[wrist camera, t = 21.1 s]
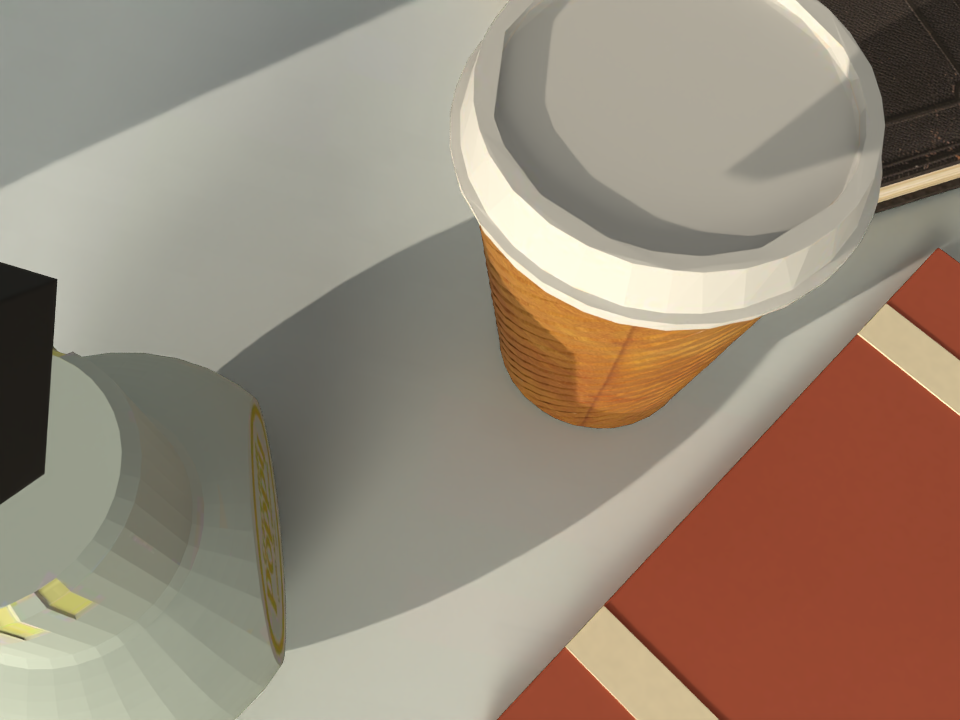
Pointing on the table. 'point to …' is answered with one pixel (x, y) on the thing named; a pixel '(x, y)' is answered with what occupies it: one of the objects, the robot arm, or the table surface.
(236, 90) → the table surface
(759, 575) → the tea towel
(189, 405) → the air freshener
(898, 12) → the hardcover book
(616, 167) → the disposable coffee cup
